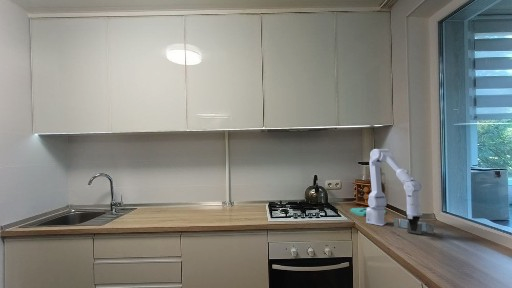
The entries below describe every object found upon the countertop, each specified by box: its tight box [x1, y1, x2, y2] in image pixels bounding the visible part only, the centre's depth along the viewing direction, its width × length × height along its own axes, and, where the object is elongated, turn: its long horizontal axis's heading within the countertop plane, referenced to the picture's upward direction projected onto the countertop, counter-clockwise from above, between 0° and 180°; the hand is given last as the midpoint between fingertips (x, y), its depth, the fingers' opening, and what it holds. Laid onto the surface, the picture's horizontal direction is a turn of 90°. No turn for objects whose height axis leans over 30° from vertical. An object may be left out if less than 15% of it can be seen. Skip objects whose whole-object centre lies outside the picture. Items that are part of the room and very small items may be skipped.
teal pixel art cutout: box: [349, 207, 387, 217], centre depth 185 cm, size 20×2×20 cm
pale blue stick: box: [400, 218, 427, 233], centre depth 147 cm, size 12×1×4 cm, turn 48°
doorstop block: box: [406, 222, 423, 235], centre depth 142 cm, size 6×5×5 cm
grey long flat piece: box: [393, 217, 435, 234], centre depth 147 cm, size 19×1×5 cm, turn 48°
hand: (413, 230), depth 139 cm, fingers closed, pressing on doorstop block
